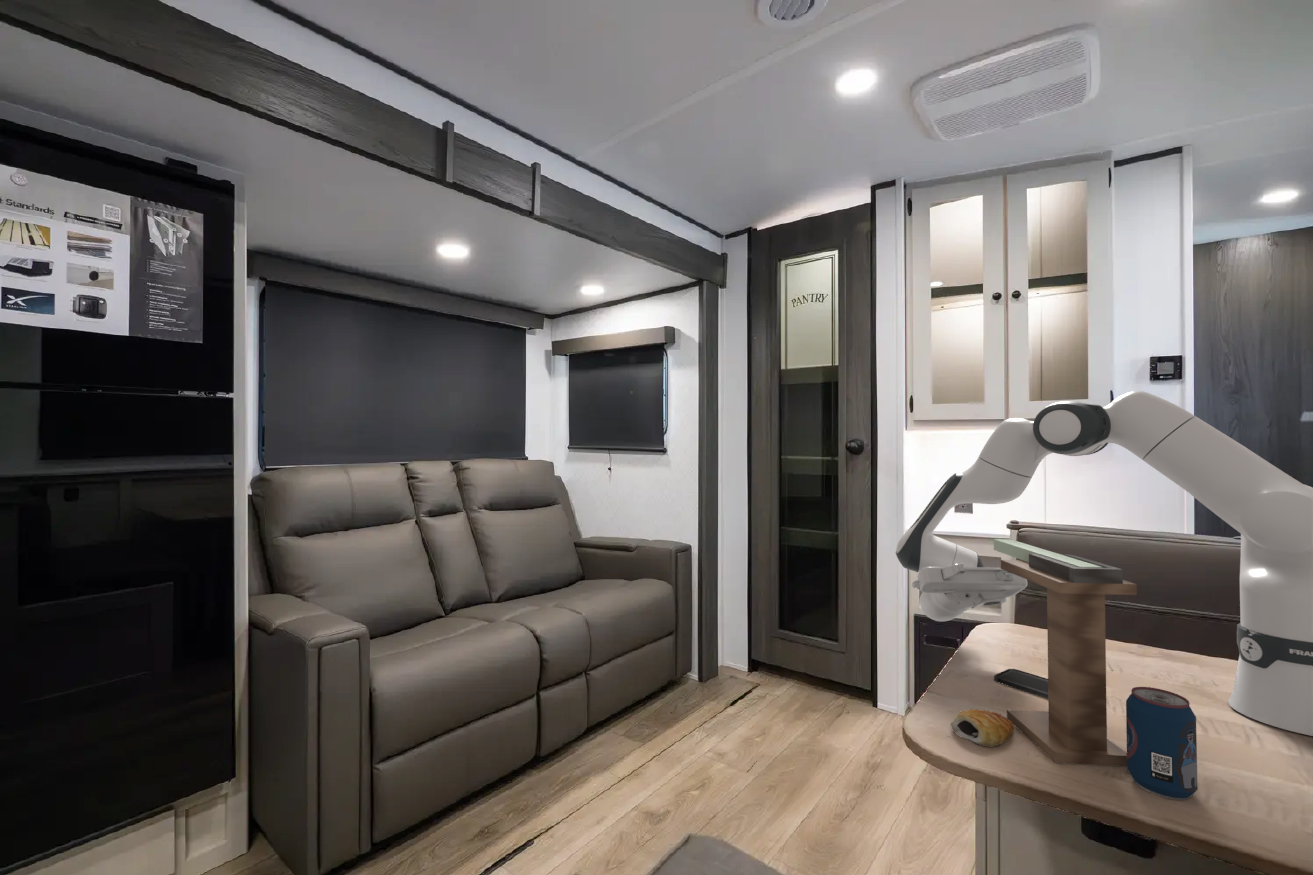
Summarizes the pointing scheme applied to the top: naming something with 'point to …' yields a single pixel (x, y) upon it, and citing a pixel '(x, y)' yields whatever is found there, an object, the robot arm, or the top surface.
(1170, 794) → the soda can
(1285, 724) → the robot arm
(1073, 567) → the stand
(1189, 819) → the top surface
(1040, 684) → the phone
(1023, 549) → the slat
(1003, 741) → the pastry
